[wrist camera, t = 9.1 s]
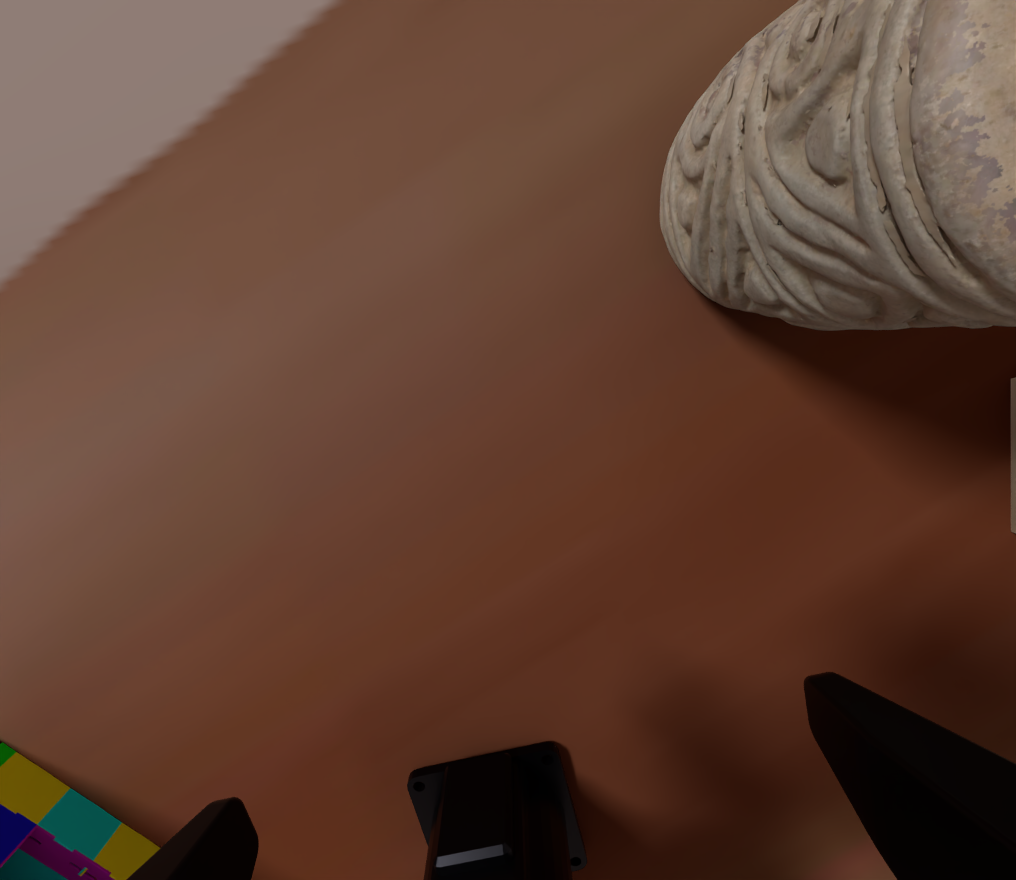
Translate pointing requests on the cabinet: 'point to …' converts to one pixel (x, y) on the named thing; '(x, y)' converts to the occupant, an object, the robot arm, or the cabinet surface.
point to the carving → (856, 169)
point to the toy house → (60, 830)
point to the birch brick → (1013, 455)
